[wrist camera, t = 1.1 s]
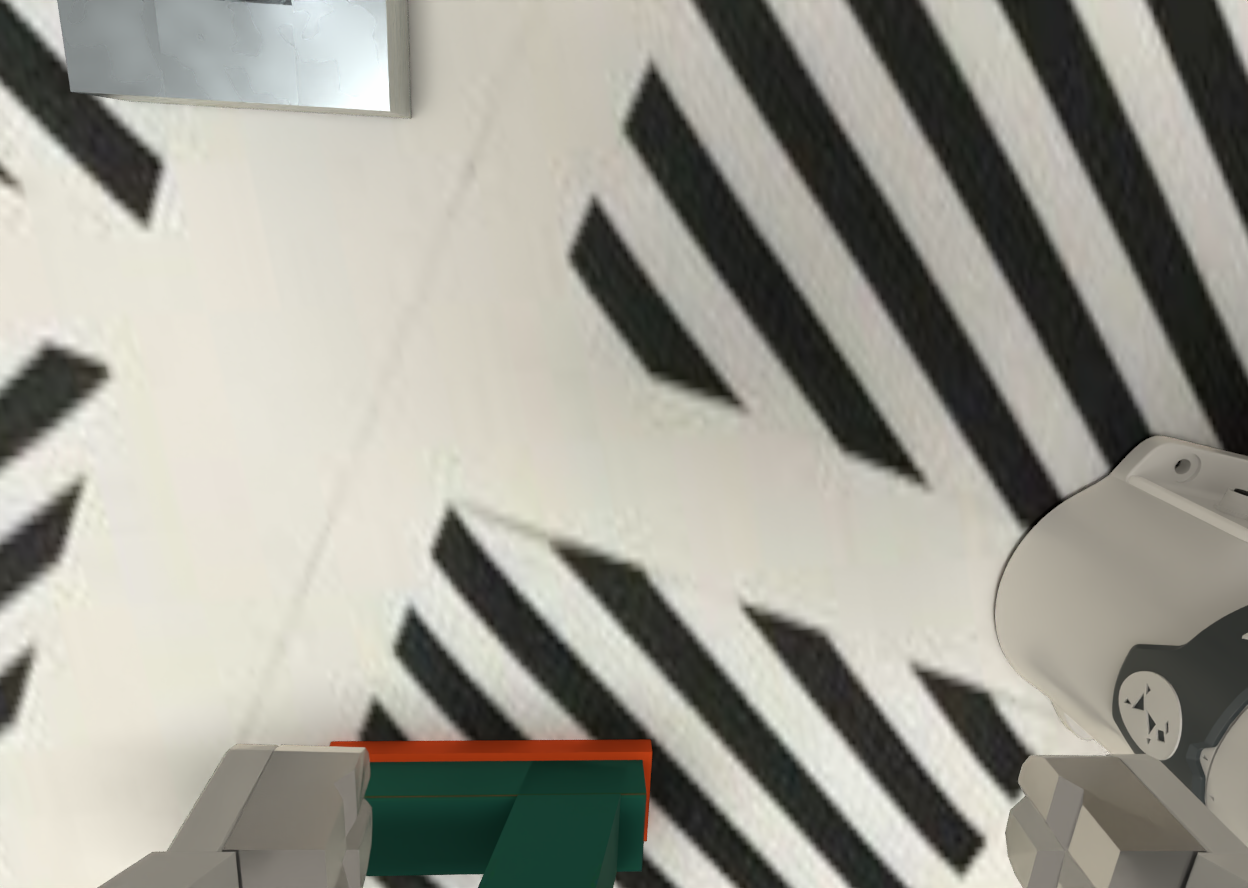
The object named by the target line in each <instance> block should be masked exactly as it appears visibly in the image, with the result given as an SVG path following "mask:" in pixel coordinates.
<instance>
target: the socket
mask: <svg viewBox="0 0 1248 888" xmlns="http://www.w3.org/2000/svg"><path fill="white" fill-rule="evenodd" d="M57 2H58V9H59V15H60V22H61V29H62V36H63V42H64V49H65V56H66V63H67V69H68V76H69V83H70V89H71V92H76V93H82V94H88V95H94V96H100V97H106V98H112V99H118V100H125V101H131V102H146V103H163V104H179V105H196V106H212V107H229V108H245V109H262V110H279V111H295V112H312V113H328V114H345V115H361V116H378V117H395V118H411V96H410V59H409V23H408V0H286V1H284V2H282V3H280V4H278V5H277V4H263V3H249V2H242V1H240V0H57Z"/></svg>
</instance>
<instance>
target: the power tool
mask: <svg viewBox="0 0 1248 888" xmlns="http://www.w3.org/2000/svg"><path fill="white" fill-rule="evenodd" d="M330 746H337V747H365V748H366V749H367V751H368V752H369V760H370V774H371V776H370V780H369V783H368V786H367V789H366V792H365V795H364V799H365V800H366V801H367V802H368V803H369V804H370V805H371V806H372V841H371V850H370V856H369V862H368V868H367V873H366V876H398V875H454V874H484V875H483V877H482V880H481V882H480V884H479V887H478V888H613V885H614V881H615V877H616V873H617V872H620V871H642V860H643V844H644V841H647V828H648V812H649V796H650V780H651V765H652V746H651V740H494V741H335V742H331V743H330Z"/></svg>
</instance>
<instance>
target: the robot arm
mask: <svg viewBox="0 0 1248 888" xmlns="http://www.w3.org/2000/svg"><path fill="white" fill-rule="evenodd" d="M1180 460H1181V463H1180V465H1179V466H1178V467H1177V468H1175V465H1176V464H1177V462H1178V461H1180ZM995 623H996V631H997V636H998V640H999V643H1000V646H1001V648H1002V651H1003V653H1004V655H1005V657H1006V659H1007V660H1008V662H1009V663H1010V665H1011V666H1012V667H1013V669H1014V670H1015V671H1016V672H1017V673H1018V674H1019V675H1020V676H1021V677H1022V678H1023V679H1024V680H1026V681H1027V682H1028V683H1030V684H1031V685H1032V686H1034V687H1035V688H1037V689H1038V690H1039V691H1041V692H1042V693H1043V694H1045V695H1046V696H1047V697H1048V698H1049V699H1050V700H1051V701H1052V703H1053V706H1054V708H1055V710H1056V712H1057V714H1058V716H1059V718H1060V720H1061V721H1062V723H1063V724H1064V725H1065V726H1066V727H1067V728H1068V729H1069V730H1070V731H1071V732H1072V733H1073V734H1074V735H1076V736H1077V737H1078V738H1080V739H1083V740H1096V741H1097V742H1098V743H1099V744H1100V745H1101V746H1102V747H1104V748H1105V749H1106V750H1107V751H1108V752H1109V753H1110V754H1111V755H1106V756H1079V755H1030V756H1029V758H1028V759H1027V760H1026V761H1025V762H1024V764H1023V765H1022V768H1021V772H1020V775H1019V779H1018V783H1019V785H1020V787H1021V788H1022V790H1023V792H1024V794H1025V797H1024V798H1023V799H1022V800H1021V801H1020V802H1018V803H1017V804H1016V805H1015V806H1014V807H1013V808H1012V809H1011V810H1010V813H1009V817H1008V822H1007V827H1006V831H1005V835H1006V843H1007V852H1008V857H1009V860H1010V863H1011V865H1012V868H1013V871H1014V873H1015V875H1016V877H1017V879H1018V880H1019V882H1020V884H1021V885H1022V887H1023V888H1248V456H1245V455H1241V454H1237V453H1232V452H1228V451H1224V450H1220V449H1216V448H1212V447H1208V446H1204V445H1200V444H1196V443H1191V442H1187V441H1183V440H1179V439H1175V438H1171V437H1167V436H1154V437H1150V438H1148V439H1146V440H1144V441H1143V442H1142V443H1140V444H1139V445H1138V446H1137V447H1135V448H1134V449H1133V450H1132V451H1131V452H1130V453H1129V454H1128V455H1127V456H1126V457H1125V458H1124V459H1123V460H1122V461H1121V462H1120V463H1119V465H1118V466H1117V467H1116V468H1115V469H1114V470H1113V471H1112V472H1111V473H1110V474H1109V475H1108V476H1107V477H1105V478H1104V479H1103V480H1101V481H1099V482H1098V483H1096V484H1094V485H1093V486H1091V487H1089V488H1087V489H1085V490H1083V491H1081V492H1079V493H1078V494H1076V495H1074V496H1072V497H1071V498H1069V499H1067V500H1066V501H1064V502H1063V503H1061V504H1060V505H1058V506H1057V507H1056V508H1054V509H1053V510H1052V511H1051V512H1049V513H1048V514H1047V515H1046V516H1045V517H1044V518H1042V519H1041V520H1040V521H1039V522H1038V523H1037V524H1036V525H1035V526H1034V527H1033V528H1032V530H1031V531H1030V532H1029V533H1028V534H1027V535H1026V537H1025V538H1024V539H1023V540H1022V542H1021V543H1020V544H1019V546H1018V547H1017V549H1016V550H1015V552H1014V554H1013V555H1012V557H1011V559H1010V561H1009V563H1008V565H1007V567H1006V569H1005V571H1004V574H1003V576H1002V579H1001V582H1000V585H999V589H998V593H997V599H996V607H995ZM370 776H371V774H370V760H369V752H368V751H367V749H366V748H365V747H337V746H308V745H280V746H278V745H258V744H236V745H235V746H233V747H232V748H230V749H229V750H228V751H227V752H226V753H225V755H224V757H223V758H222V760H221V761H220V763H219V765H218V766H217V768H216V770H215V771H214V773H213V775H212V776H211V778H210V780H209V781H208V783H207V785H206V786H205V788H204V790H203V791H202V793H201V795H200V796H199V798H198V800H197V801H196V803H195V805H194V806H193V808H192V810H191V811H190V813H189V815H188V816H187V818H186V820H185V821H184V823H183V825H182V826H181V828H180V830H179V831H178V833H177V835H176V836H175V838H174V840H173V841H172V843H171V845H170V846H169V848H168V850H167V851H166V852H151V853H150V854H148V855H147V856H145V857H144V858H142V859H141V860H139V861H138V862H136V863H135V864H133V865H131V866H130V867H128V868H127V869H125V870H124V871H122V872H121V873H119V874H118V875H116V876H115V877H113V878H112V879H110V880H109V881H107V882H106V883H104V884H103V885H101V886H99V887H98V888H363V884H364V880H365V877H366V873H367V868H368V862H369V856H370V850H371V841H372V806H371V805H370V804H369V803H368V802H367V801H366V800H365V799H364V795H365V792H366V789H367V786H368V783H369V780H370Z"/></svg>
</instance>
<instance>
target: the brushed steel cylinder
mask: <svg viewBox="0 0 1248 888" xmlns="http://www.w3.org/2000/svg"><path fill="white" fill-rule="evenodd" d="M240 1H242V2H249V3H263V4H277V5H278V4H280V3H282V2H284V1H286V0H240Z"/></svg>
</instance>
